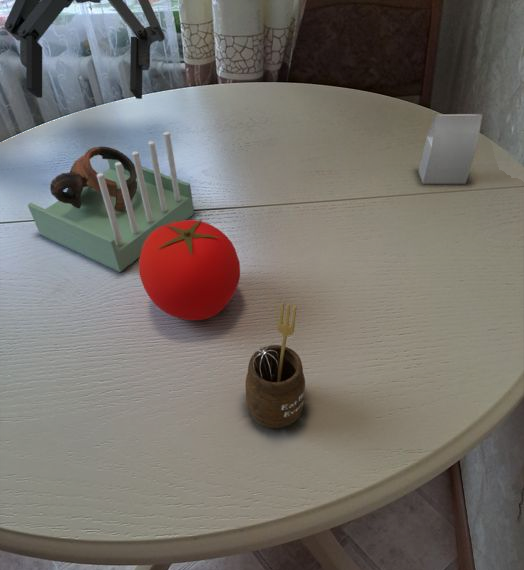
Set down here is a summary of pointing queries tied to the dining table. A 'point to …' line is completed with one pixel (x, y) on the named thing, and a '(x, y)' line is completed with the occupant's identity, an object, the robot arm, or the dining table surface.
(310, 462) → the dining table surface
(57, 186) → the brown curved ring piece
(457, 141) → the grey block
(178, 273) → the tomato
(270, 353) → the utensil holder
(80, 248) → the dish rack
